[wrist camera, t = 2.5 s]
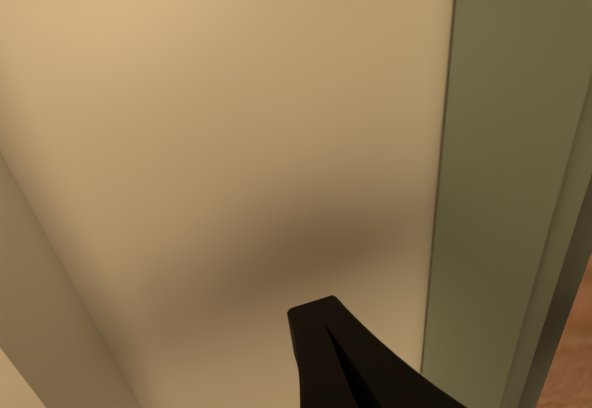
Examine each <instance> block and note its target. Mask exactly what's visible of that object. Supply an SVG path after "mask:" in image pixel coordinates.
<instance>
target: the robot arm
mask: <svg viewBox="0 0 592 408" xmlns="http://www.w3.org/2000/svg"><path fill="white" fill-rule="evenodd" d="M287 316H288V322H289V328H290V334H291V340H292V345H293V351H294V356H295V359H296V363H297V366H298V371H299V385H300V408H467V407H466V406H464V405H463V404H461V403H460V402H458V401H457V400H455V399H454V398H452V397H451V396H449V395H448V394H447V393H445V392H444V391H442V390H441V389H439V388H438V387H437V386H435V385H434V384H433V383H431V382H430V381H429V380H427V379H426V378H425V377H423V376H422V375H421V374H419V373H418V372H417V371H416V370H414V369H413V368H412V367H411V366H409V365H408V364H407V363H406V362H404V361H403V360H402V359H401V358H400V357H398V356H397V355H396V354H395V353H394V352H393V351H391V350H390V349H389V348H388V347H387V346H386V345H385V344H383V343H382V342H381V341H380V340H379V339H378V338H377V337H376V336H375V335H373V334H372V333H371V332H370V331H369V330H368V329H367V328H366V327H365V326H364V325H363V324H362V323H361V322H360V321H359V320H358V319H357V318H356V317H355V316H354V315H353V314H352V313H351V312H350V311H349V310H348V309H347V308H346V307H345V306H344V305H343V304H342V303H341V301H340V300H339V299H338V298H337V297H335V296H334V295H331V296H328V297H325V298H321V299H318V300H315V301H312V302H308V303H305V304H302V305H299V306H296V307H292V308H290V309H289V310H288V312H287Z"/></svg>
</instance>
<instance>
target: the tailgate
mask: <svg viewBox="0 0 592 408" xmlns="http://www.w3.org/2000/svg"><path fill="white" fill-rule="evenodd" d="M591 252H592V0H456V11H455V22H454V33H453V43H452V54H451V65H450V76H449V87H448V98H447V109H446V120H445V130H444V141H443V152H442V163H441V174H440V185H439V196H438V207H437V218H436V228H435V239H434V250H433V261H432V272H431V283H430V294H429V305H428V315H427V326H426V337H425V348H424V359H423V370H422V376H423V377H425V378H426V379H427V380H429V381H430V382H431V383H433V384H434V385H435V386H437V387H438V388H439V389H441V390H442V391H444V392H445V393H447V394H448V395H449V396H451V397H452V398H454V399H455V400H457V401H458V402H460V403H461V404H463V405H464V406H466V407H467V408H536V405H537V402H538V399H539V397H540V394H541V391H542V388H543V385H544V383H545V380H546V377H547V374H548V372H549V369H550V366H551V363H552V360H553V358H554V355H555V352H556V349H557V346H558V344H559V341H560V338H561V335H562V333H563V330H564V327H565V324H566V321H567V319H568V316H569V313H570V310H571V308H572V305H573V302H574V299H575V296H576V294H577V291H578V288H579V285H580V282H581V280H582V277H583V274H584V271H585V269H586V266H587V263H588V260H589V257H590V255H591Z"/></svg>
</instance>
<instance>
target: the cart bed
mask: <svg viewBox="0 0 592 408" xmlns="http://www.w3.org/2000/svg"><path fill="white" fill-rule="evenodd" d="M455 11H456V0H0V408H300V385H299V371H298V366H297V363H296V359H295V356H294V351H293V345H292V340H291V334H290V328H289V322H288V316H287V312H288V310H289V309H290V308H292V307H296V306H299V305H302V304H305V303H308V302H312V301H315V300H318V299H321V298H325V297H328V296H331V295H334V296H335V297H337V298H338V299H339V300H340V301H341V303H342V304H343V305H344V306H345V307H346V308H347V309H348V310H349V311H350V312H351V313H352V314H353V315H354V316H355V317H356V318H357V319H358V320H359V321H360V322H361V323H362V324H363V325H364V326H365V327H366V328H367V329H368V330H369V331H370V332H371V333H372V334H373V335H375V336H376V337H377V338H378V339H379V340H380V341H381V342H382V343H383V344H385V345H386V346H387V347H388V348H389V349H390V350H391V351H393V352H394V353H395V354H396V355H397V356H398V357H400V358H401V359H402V360H403V361H404V362H406V363H407V364H408V365H409V366H411V367H412V368H413V369H414V370H416V371H417V372H418V373H419V374H421V375H422V370H423V359H424V348H425V337H426V326H427V315H428V305H429V294H430V283H431V272H432V261H433V250H434V239H435V228H436V218H437V207H438V196H439V185H440V174H441V163H442V152H443V141H444V130H445V120H446V109H447V98H448V87H449V76H450V65H451V54H452V43H453V33H454V22H455Z"/></svg>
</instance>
